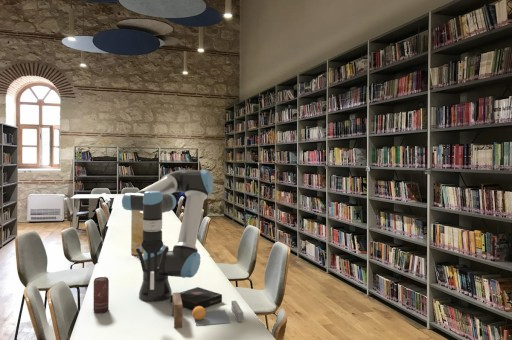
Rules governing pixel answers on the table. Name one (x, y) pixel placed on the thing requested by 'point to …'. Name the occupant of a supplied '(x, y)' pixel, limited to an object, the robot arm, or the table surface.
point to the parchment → (136, 231)
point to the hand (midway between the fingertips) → (152, 288)
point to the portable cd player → (199, 298)
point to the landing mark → (213, 318)
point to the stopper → (237, 311)
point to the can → (101, 294)
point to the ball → (199, 313)
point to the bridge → (177, 309)
